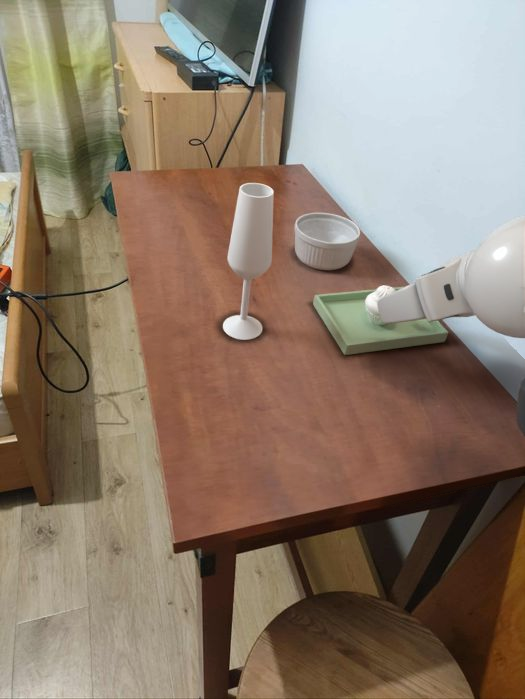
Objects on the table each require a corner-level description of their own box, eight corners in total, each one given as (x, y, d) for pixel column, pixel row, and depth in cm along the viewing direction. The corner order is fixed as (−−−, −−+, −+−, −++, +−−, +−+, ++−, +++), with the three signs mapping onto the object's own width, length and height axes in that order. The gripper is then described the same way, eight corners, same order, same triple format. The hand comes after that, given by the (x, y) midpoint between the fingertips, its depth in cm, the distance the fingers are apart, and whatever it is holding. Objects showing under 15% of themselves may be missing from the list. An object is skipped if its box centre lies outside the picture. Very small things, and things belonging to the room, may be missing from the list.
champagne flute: (264, 317, 88) (282, 183, 72) (260, 342, 83) (279, 203, 67) (225, 312, 88) (235, 177, 72) (219, 336, 83) (229, 196, 67)
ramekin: (277, 250, 106) (281, 219, 102) (322, 236, 113) (328, 206, 109) (321, 281, 99) (327, 249, 94) (366, 263, 106) (374, 233, 101)
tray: (404, 295, 98) (407, 286, 97) (444, 341, 88) (448, 332, 87) (312, 304, 93) (314, 294, 91) (344, 355, 83) (347, 345, 81)
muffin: (362, 306, 93) (371, 273, 88) (395, 314, 92) (407, 281, 87) (359, 326, 88) (368, 292, 83) (394, 334, 87) (406, 301, 83)
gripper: (510, 249, 76) (440, 272, 89) (413, 278, 67) (350, 299, 79) (522, 289, 77) (451, 306, 89) (427, 324, 67) (362, 338, 80)
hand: (403, 303), depth 84 cm, fingers open, 8 cm apart
